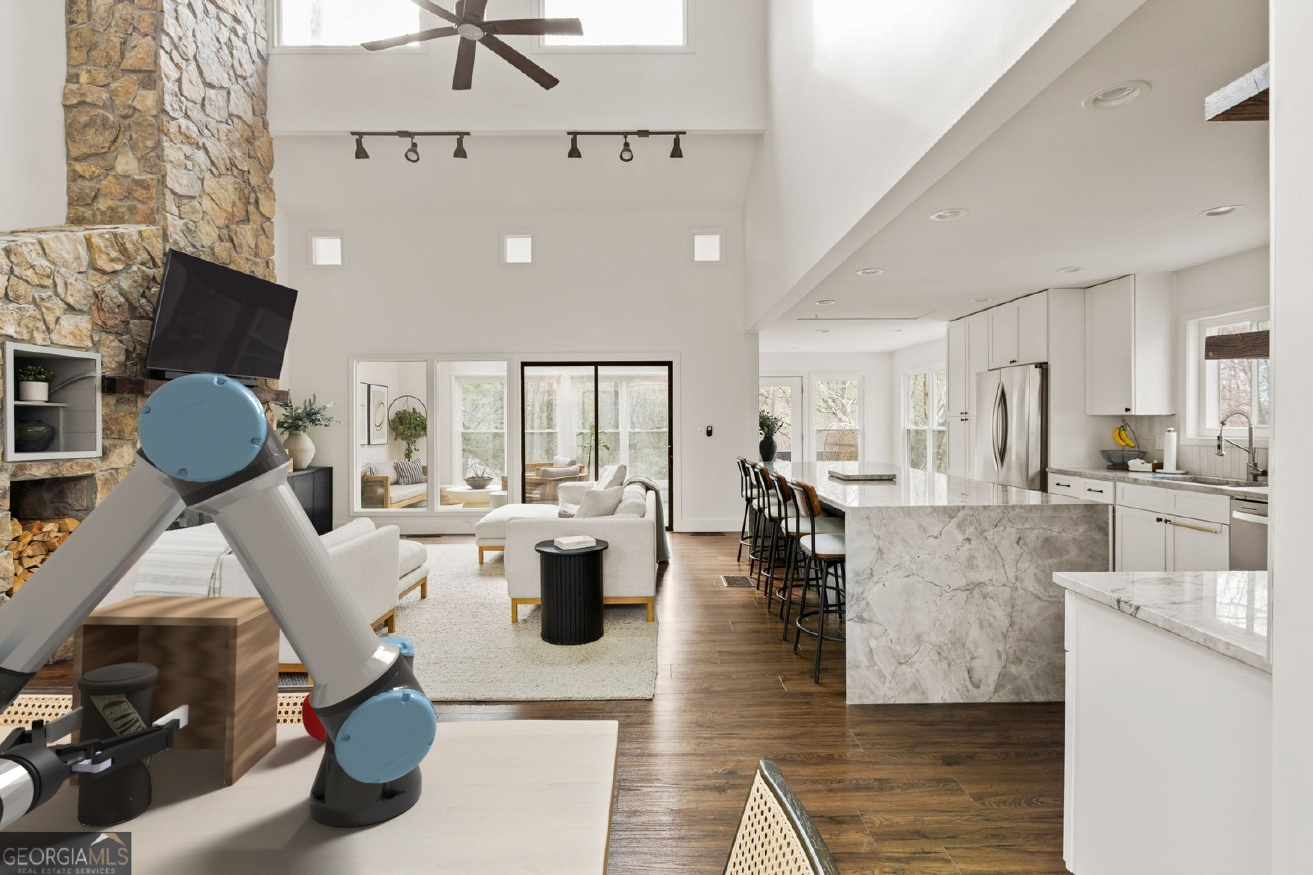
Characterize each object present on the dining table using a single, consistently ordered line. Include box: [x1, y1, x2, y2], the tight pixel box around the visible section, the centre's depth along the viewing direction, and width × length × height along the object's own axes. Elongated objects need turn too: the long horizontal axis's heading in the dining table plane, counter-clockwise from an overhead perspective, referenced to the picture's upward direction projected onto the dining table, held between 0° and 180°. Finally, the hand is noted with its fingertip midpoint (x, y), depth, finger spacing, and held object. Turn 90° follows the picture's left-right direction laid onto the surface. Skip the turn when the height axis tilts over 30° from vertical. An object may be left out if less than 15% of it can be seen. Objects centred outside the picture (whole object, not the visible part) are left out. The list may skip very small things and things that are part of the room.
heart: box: [301, 691, 326, 742], centre depth 117 cm, size 12×5×10 cm, turn 3°
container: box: [76, 662, 159, 827], centre depth 94 cm, size 9×9×20 cm
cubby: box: [68, 595, 281, 787], centre depth 108 cm, size 23×13×25 cm, turn 94°
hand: (136, 713), depth 97 cm, fingers open, 13 cm apart
